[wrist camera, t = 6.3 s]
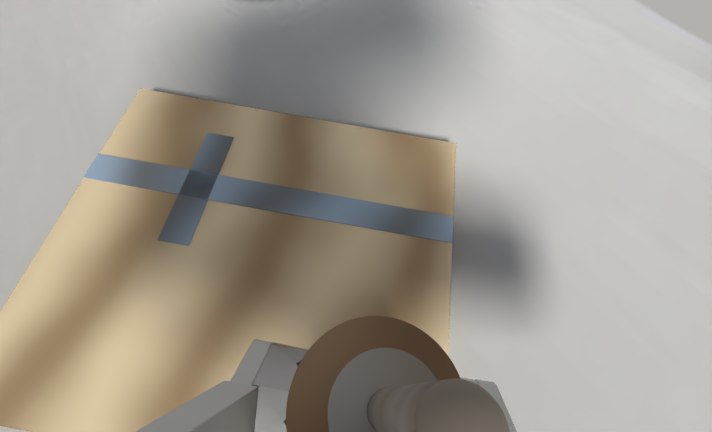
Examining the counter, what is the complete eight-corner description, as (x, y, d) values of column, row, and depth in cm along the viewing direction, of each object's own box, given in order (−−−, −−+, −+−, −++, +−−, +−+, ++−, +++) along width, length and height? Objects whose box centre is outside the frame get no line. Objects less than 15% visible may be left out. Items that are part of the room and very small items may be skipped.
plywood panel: (-36, 412, 15) (-66, 414, 14) (148, 102, 23) (139, 87, 22) (433, 500, 15) (442, 509, 13) (450, 155, 23) (456, 142, 22)
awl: (299, 444, 14) (67, 840, 2) (318, 350, 16) (279, 167, 3) (388, 460, 14) (894, 998, 2) (397, 364, 16) (676, 236, 3)
